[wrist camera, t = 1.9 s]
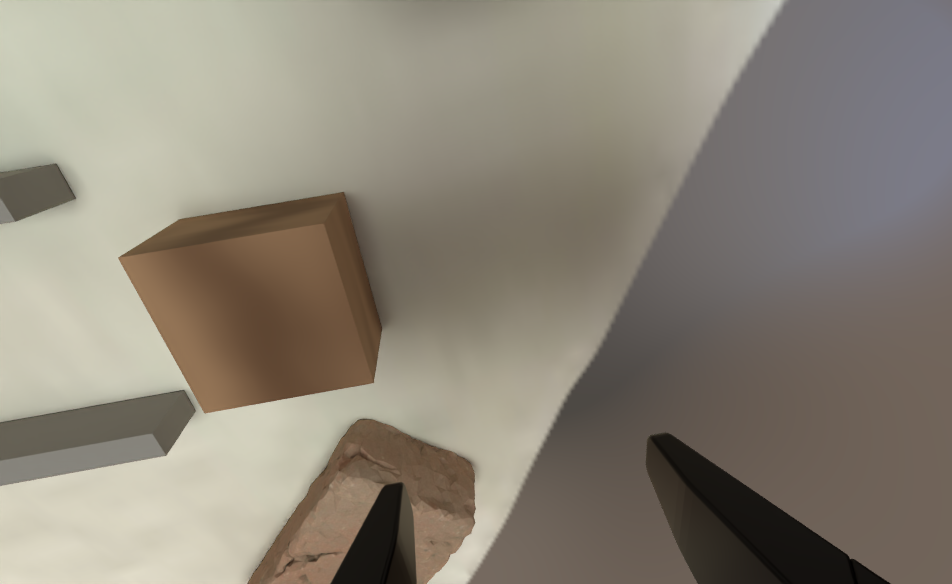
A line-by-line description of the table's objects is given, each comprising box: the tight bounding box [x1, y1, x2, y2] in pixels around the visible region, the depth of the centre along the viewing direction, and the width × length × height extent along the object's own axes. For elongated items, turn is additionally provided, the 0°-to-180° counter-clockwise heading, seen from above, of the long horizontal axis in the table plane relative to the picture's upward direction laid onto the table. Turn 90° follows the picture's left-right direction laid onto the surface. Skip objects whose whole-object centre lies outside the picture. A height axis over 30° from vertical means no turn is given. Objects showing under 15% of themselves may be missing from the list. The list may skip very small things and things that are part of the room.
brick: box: [248, 419, 476, 584], centre depth 27 cm, size 17×8×5 cm, turn 147°
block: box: [118, 192, 382, 413], centre depth 19 cm, size 7×7×4 cm
